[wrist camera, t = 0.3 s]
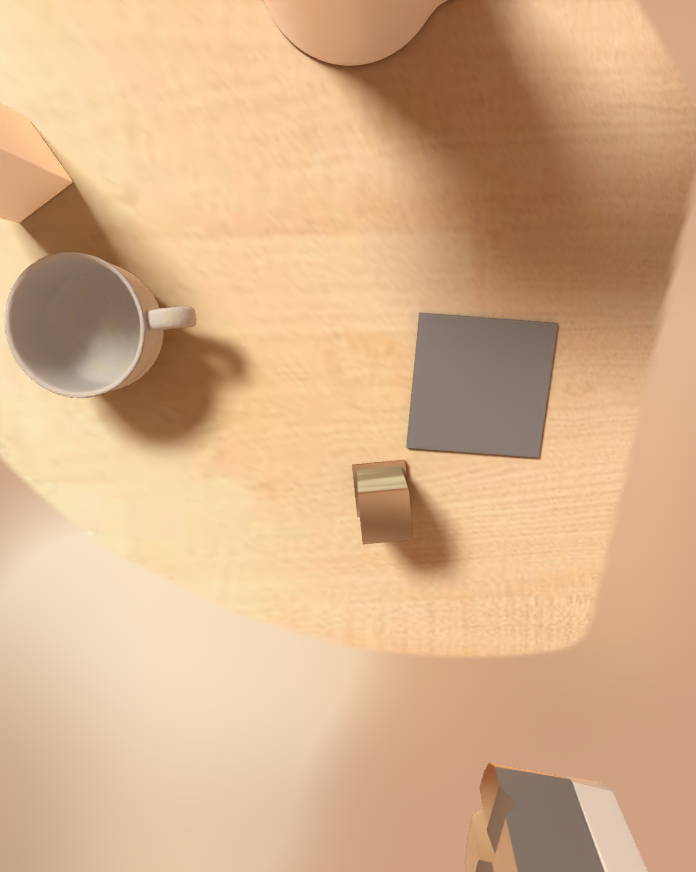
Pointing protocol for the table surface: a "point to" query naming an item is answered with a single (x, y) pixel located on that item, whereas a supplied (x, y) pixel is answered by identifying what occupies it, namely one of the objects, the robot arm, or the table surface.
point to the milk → (25, 168)
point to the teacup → (86, 325)
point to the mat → (480, 384)
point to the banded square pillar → (383, 501)
